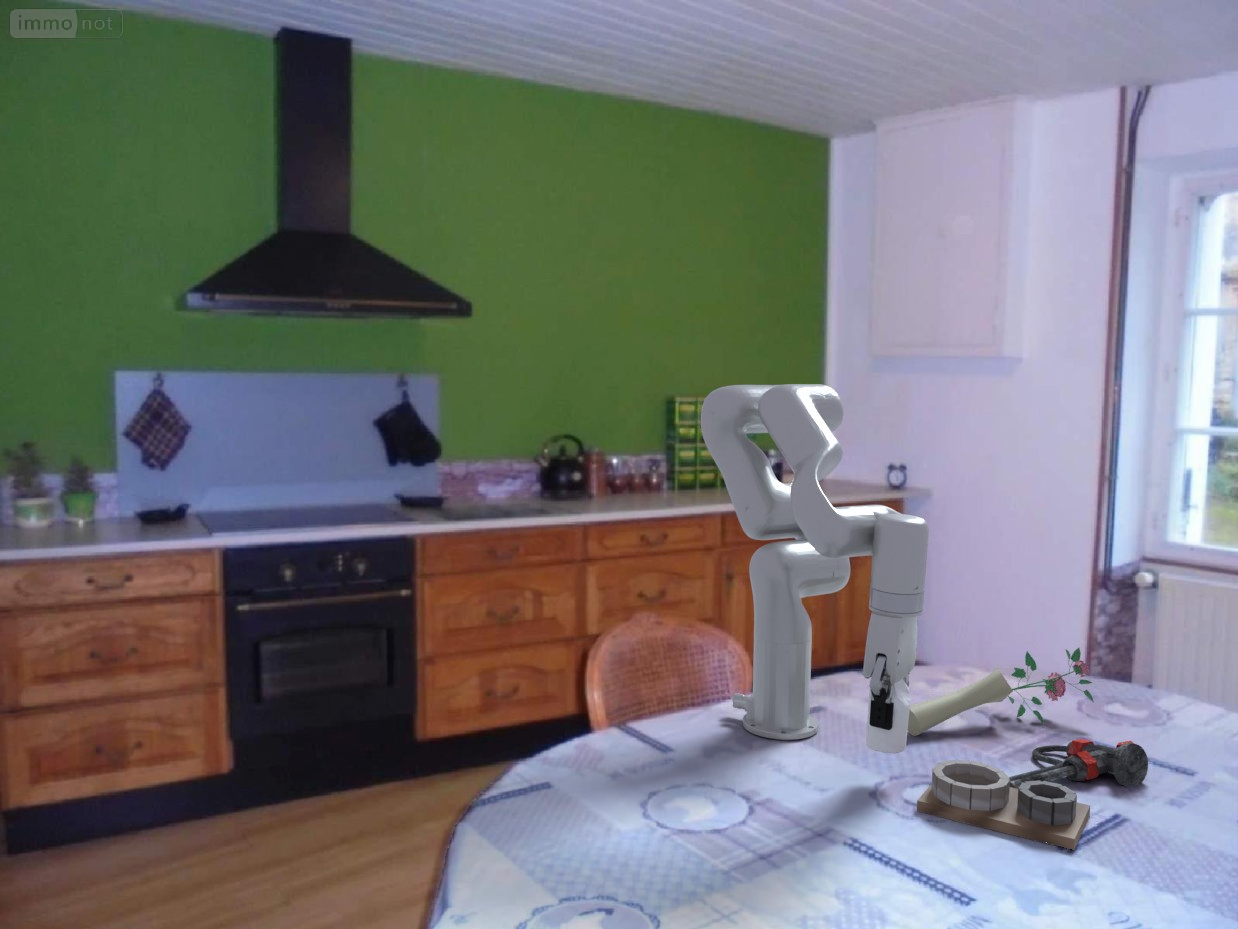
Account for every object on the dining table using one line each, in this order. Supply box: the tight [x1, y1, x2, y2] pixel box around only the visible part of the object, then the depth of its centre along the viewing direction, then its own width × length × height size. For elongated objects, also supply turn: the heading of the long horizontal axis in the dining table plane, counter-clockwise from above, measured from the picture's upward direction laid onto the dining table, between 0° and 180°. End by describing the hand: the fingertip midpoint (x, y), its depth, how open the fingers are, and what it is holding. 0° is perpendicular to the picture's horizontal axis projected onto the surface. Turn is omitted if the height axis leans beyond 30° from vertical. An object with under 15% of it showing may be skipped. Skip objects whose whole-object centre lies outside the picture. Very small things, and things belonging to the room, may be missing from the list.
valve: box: [1008, 738, 1149, 789], centre depth 153 cm, size 6×26×15 cm
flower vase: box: [907, 647, 1095, 737], centre depth 174 cm, size 12×12×35 cm
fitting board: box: [916, 759, 1091, 851], centre depth 139 cm, size 20×12×4 cm, turn 57°
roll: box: [865, 676, 911, 754], centre depth 148 cm, size 6×12×6 cm
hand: (888, 719), depth 149 cm, fingers closed on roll, 5 cm apart
